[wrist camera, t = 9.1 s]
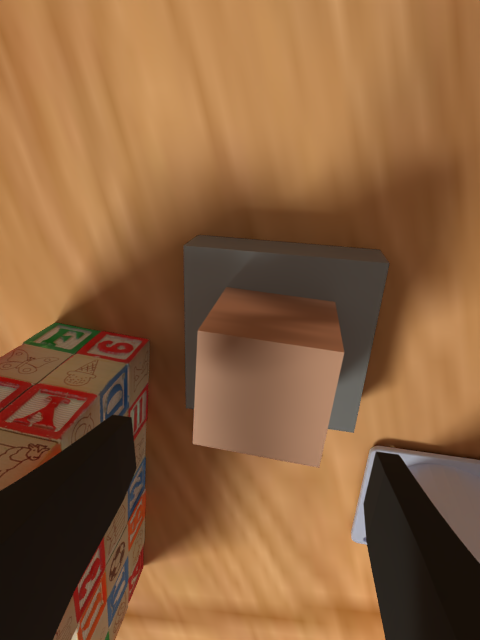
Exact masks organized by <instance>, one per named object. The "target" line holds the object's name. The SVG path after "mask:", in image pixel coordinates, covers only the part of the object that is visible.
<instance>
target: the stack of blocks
mask: <svg viewBox="0 0 480 640" xmlns="http://www.w3.org/2000/svg"><path fill="white" fill-rule="evenodd" d="M149 358H150V341H149V340H148V339H143V338H138V337H133V336H127V335H122V334H117V333H111V332H106V331H96V330H91V329H86V328H81V327H76V326H71V325H65V324H61V323H54V324H52V325H50V326H49V327H47V328H45V329H44V330H42V331H40V332H39V333H37V334H35V335H34V336H32V337H31V338H29V339H28V340H26V341H25V342H23V344H22V345H21V346H19V347H17V348H15V349H14V350H12V351H10V352H9V353H7V354H5V355H4V356H2V357H1V358H0V491H1V490H2V489H4V488H6V487H7V486H9V485H11V484H12V483H14V482H16V481H17V480H19V479H20V478H22V477H23V476H25V475H27V474H28V473H30V472H31V471H33V470H34V469H36V468H37V467H39V466H40V465H42V464H43V463H45V462H47V461H48V460H50V459H51V458H53V457H54V456H56V455H57V454H58V453H60V452H61V451H63V450H64V449H65V448H67V447H68V446H70V445H71V444H73V443H74V442H75V441H77V440H78V439H80V438H81V437H82V436H84V435H85V434H86V433H88V432H89V431H91V430H92V429H93V428H95V427H96V426H97V425H99V424H100V423H102V422H103V421H104V420H106V419H107V418H109V417H110V416H112V415H119V416H126V417H132V426H133V436H134V446H135V456H136V466H137V468H136V471H135V474H134V476H133V479H132V481H131V484H130V486H129V489H128V491H127V494H126V496H125V498H124V501H123V502H122V504H121V506H120V508H119V510H118V512H117V514H116V516H115V517H114V519H113V521H112V523H111V525H110V527H109V528H108V530H107V532H106V534H105V536H104V537H103V539H102V541H101V543H100V545H99V546H98V548H97V550H96V552H95V554H94V555H93V557H92V559H91V561H90V563H89V565H88V566H87V568H86V570H85V572H84V574H83V575H82V577H81V579H80V581H79V583H78V585H77V587H76V589H75V591H74V593H73V596H72V598H71V600H70V602H69V605H68V607H67V609H66V611H65V614H64V616H63V618H62V620H61V623H60V625H59V627H58V629H57V632H56V634H55V636H54V639H53V640H115V638H116V636H117V633H118V631H119V629H120V626H121V624H122V621H123V619H124V616H125V613H126V611H127V608H128V603H129V601H130V599H131V597H132V594H133V592H134V589H135V587H136V585H137V582H138V580H139V577H140V574H141V572H142V569H143V545H144V541H145V508H146V488H145V467H146V456H145V452H146V421H147V414H148V380H149Z"/></svg>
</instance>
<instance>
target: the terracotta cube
mask: <svg viewBox="0 0 480 640" xmlns="http://www.w3.org/2000/svg"><path fill="white" fill-rule="evenodd" d="M343 356H344V348H343V342H342V337H341V331H340V326H339V320H338V315H337V309H336V304H335V302H333V301H325V300H318V299H311V298H303V297H296V296H289V295H281V294H274V293H266V292H259V291H252V290H244V289H237V288H230V287H226V288H225V290H224V291H223V293H222V294H221V296H220V297H219V299H218V300H217V302H216V304H215V305H214V307H213V308H212V310H211V311H210V313H209V314H208V316H207V317H206V319H205V320H204V322H203V323H202V325H201V326H200V328H199V329H198V334H197V356H196V379H195V401H194V424H193V444H196V445H201V446H206V447H212V448H217V449H222V450H227V451H233V452H238V453H243V454H249V455H254V456H259V457H265V458H270V459H275V460H281V461H286V462H291V463H297V464H302V465H307V466H313V467H318V468H319V466H320V461H321V457H322V452H323V448H324V443H325V439H326V434H327V429H328V425H329V420H330V416H331V411H332V407H333V402H334V397H335V393H336V388H337V384H338V379H339V375H340V370H341V365H342V361H343Z"/></svg>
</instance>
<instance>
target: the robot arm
mask: <svg viewBox="0 0 480 640" xmlns="http://www.w3.org/2000/svg"><path fill="white" fill-rule="evenodd" d="M136 468H137V466H136V456H135V446H134V436H133V426H132V417H126V416H119V415H112V416H110V417H109V418H107V419H106V420H104V421H103V422H102V423H100V424H99V425H97V426H96V427H95V428H93V429H92V430H91V431H89V432H88V433H86V434H85V435H84V436H82V437H81V438H80V439H78V440H77V441H75V442H74V443H73V444H71V445H70V446H68V447H67V448H65V449H64V450H63V451H61V452H60V453H58V454H57V455H56V456H54V457H53V458H51V459H50V460H48V461H47V462H45V463H43V464H42V465H40V466H39V467H37V468H36V469H34V470H33V471H31V472H30V473H28V474H27V475H25V476H23V477H22V478H20V479H19V480H17V481H16V482H14V483H12V484H11V485H9V486H7V487H6V488H4V489H2V490H1V491H0V640H53V639H54V636H55V634H56V632H57V629H58V627H59V625H60V623H61V620H62V618H63V616H64V614H65V611H66V609H67V607H68V605H69V602H70V600H71V598H72V596H73V593H74V591H75V589H76V587H77V585H78V583H79V581H80V579H81V577H82V575H83V574H84V572H85V570H86V568H87V566H88V565H89V563H90V561H91V559H92V557H93V555H94V554H95V552H96V550H97V548H98V546H99V545H100V543H101V541H102V539H103V537H104V536H105V534H106V532H107V530H108V528H109V527H110V525H111V523H112V521H113V519H114V517H115V516H116V514H117V512H118V510H119V508H120V506H121V504H122V502H123V501H124V498H125V496H126V494H127V491H128V489H129V486H130V484H131V481H132V479H133V476H134V474H135V471H136ZM351 537H352V540H353V541H355V542H357V543H361V544H367V547H368V552H369V557H370V562H371V568H372V573H373V578H374V583H375V588H376V593H377V598H378V603H379V608H380V613H381V618H382V623H383V628H384V633H385V639H386V640H480V460H476V459H469V458H462V457H455V456H448V455H441V454H434V453H427V452H420V451H413V450H406V449H398V448H391V447H384V446H374V447H372V448H371V449H370V451H369V455H368V460H367V464H366V468H365V473H364V477H363V482H362V486H361V491H360V495H359V499H358V504H357V508H356V513H355V517H354V522H353V526H352V530H351Z"/></svg>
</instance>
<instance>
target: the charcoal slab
mask: <svg viewBox="0 0 480 640" xmlns="http://www.w3.org/2000/svg"><path fill="white" fill-rule="evenodd" d="M388 268H389V262H388V260H387V259H386V258H385V256H384V255H383V254H382V252H381V251H380V250H377V249H365V248H352V247H340V246H328V245H316V244H303V243H291V242H279V241H267V240H255V239H242V238H230V237H218V236H206V235H197V236H196V237H195V238H193V239H192V240H190V241H189V242H188V243H186V244H185V245H184V311H185V382H186V408H189V409H194V401H195V379H196V356H197V334H198V329H199V328H200V326H201V325H202V323H203V322H204V320H205V319H206V317H207V316H208V314H209V313H210V311H211V310H212V308H213V307H214V305H215V304H216V302H217V300H218V299H219V297H220V296H221V294H222V293H223V291H224V290H225V288H226V287H230V288H237V289H244V290H252V291H259V292H266V293H274V294H281V295H289V296H296V297H303V298H311V299H318V300H325V301H333V302H335V304H336V309H337V315H338V320H339V326H340V331H341V337H342V342H343V348H344V356H343V361H342V365H341V370H340V375H339V379H338V384H337V388H336V393H335V397H334V402H333V407H332V411H331V416H330V420H329V425H328V429H333V430H339V431H346V432H353V433H354V429H355V425H356V420H357V415H358V410H359V406H360V401H361V396H362V391H363V387H364V382H365V377H366V373H367V368H368V363H369V358H370V354H371V349H372V344H373V339H374V335H375V330H376V325H377V320H378V316H379V311H380V306H381V301H382V297H383V292H384V287H385V282H386V278H387V273H388Z"/></svg>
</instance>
